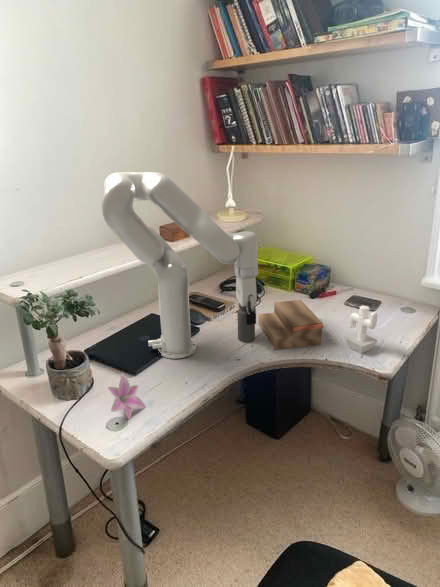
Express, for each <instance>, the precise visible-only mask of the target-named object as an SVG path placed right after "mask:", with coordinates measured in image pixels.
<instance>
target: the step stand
mask: <svg viewBox="0 0 440 587" xmlns="http://www.w3.org/2000/svg"><path fill="white" fill-rule="evenodd" d="M273 305H274V306H273V308H274V309H273V312H267V313H258V315H257V316H258V317H257V318H258V320H257V322H258V323H257V325H258V326H259V327H260V329H261V331H262V333H263V334H264V335H265V338H266V339H267V341H268V342H269V344H270V345H271V347H272V348H273V350H274V351H279V350H286V349H296V348H302V347H309V346H312V347H313V346H318V345H319V346H320V345H322V336H323V335H322V333H323V327H324V324H323V321H321V319H320V318H319V317H318V316H316V314H315V313H314V311H312V310H311V309H310V308H309V307H308V306H307V304H305V302H303V300H302V299H296V300H294V299H293V300H285V301H277V302H276V301H275V302H274V304H273Z"/></svg>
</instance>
